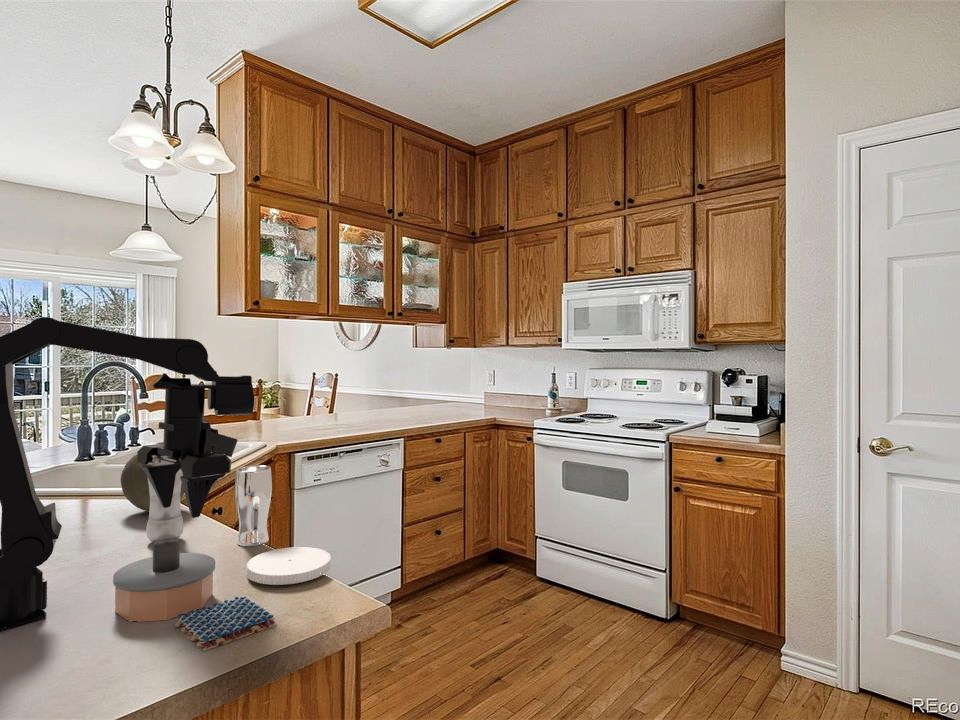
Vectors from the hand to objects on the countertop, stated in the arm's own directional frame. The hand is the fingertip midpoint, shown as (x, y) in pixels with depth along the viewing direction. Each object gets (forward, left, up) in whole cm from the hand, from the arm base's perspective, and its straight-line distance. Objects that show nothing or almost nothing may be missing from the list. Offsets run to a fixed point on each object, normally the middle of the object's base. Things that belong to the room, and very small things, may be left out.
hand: (180, 512), depth 91 cm
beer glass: (+20, +12, -13) cm, 27 cm away
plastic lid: (+15, -8, -13) cm, 21 cm away
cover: (-4, -4, -8) cm, 10 cm away
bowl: (-4, -4, -12) cm, 14 cm away
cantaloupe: (+17, +50, -13) cm, 55 cm away
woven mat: (-2, -18, -13) cm, 22 cm away
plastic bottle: (+9, +26, -13) cm, 30 cm away
